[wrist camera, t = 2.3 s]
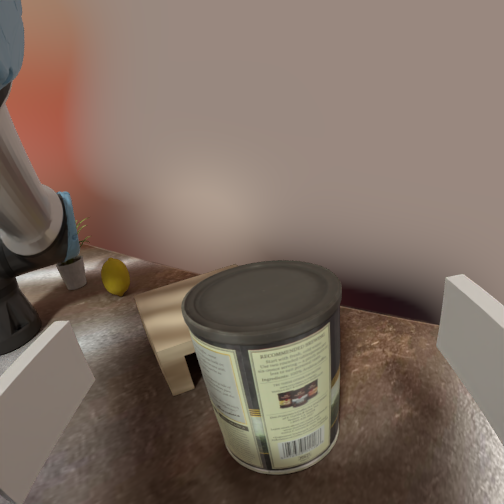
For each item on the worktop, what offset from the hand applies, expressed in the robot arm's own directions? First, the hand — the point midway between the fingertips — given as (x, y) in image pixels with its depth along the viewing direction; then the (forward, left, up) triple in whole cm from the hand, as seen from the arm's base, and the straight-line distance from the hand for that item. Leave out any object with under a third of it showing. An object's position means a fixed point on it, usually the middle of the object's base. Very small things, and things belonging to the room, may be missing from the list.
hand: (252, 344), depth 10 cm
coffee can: (-9, +5, -17) cm, 20 cm away
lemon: (-52, -4, -17) cm, 55 cm away
